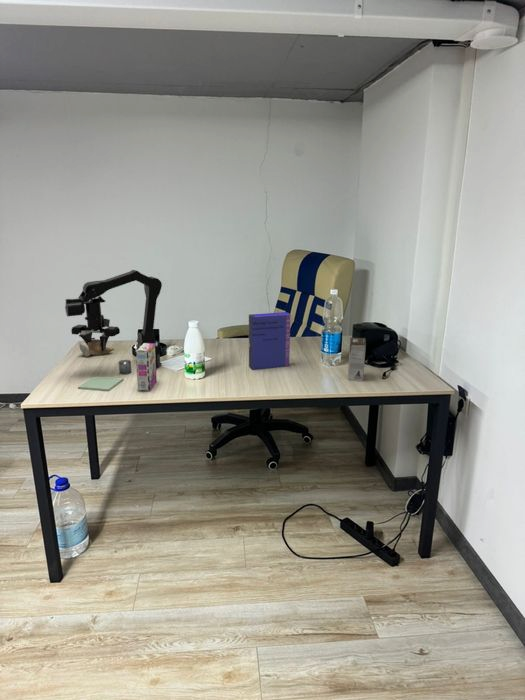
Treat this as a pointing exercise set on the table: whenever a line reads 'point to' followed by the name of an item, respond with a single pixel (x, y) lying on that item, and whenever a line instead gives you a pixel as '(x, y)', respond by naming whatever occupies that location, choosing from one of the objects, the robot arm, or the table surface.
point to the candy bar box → (146, 366)
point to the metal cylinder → (125, 367)
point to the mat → (101, 383)
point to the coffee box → (356, 359)
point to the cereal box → (269, 340)
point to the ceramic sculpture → (85, 349)
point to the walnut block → (95, 347)
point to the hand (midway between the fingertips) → (97, 350)
